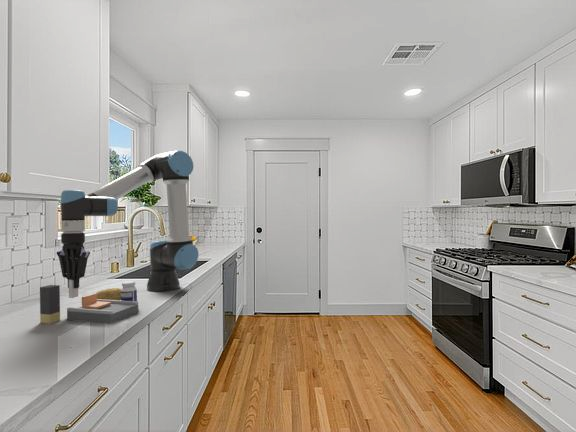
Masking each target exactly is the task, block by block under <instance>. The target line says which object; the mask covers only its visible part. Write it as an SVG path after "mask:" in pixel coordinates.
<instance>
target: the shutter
mask: <svg viewBox="0 0 576 432" xmlns="http://www.w3.org/2000/svg"><path fill="white" fill-rule="evenodd" d="M96 293H97V292H94V293H91V294H88V295H84V296H81V307H82V308H86V309H99V308H102V307H105V306H108V305H111V302H100V301H97V294H96Z"/></svg>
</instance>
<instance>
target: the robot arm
mask: <svg viewBox="0 0 576 432" xmlns="http://www.w3.org/2000/svg"><path fill="white" fill-rule="evenodd" d="M193 171H194V162H193V159H192V157H191V156H190V155H189V154H188V153H187V152H186V151H183V150H171V151H167V152H163V153H159V154H155V155H153V156H152V157H150V158H148V159H147V160H145V161H144V162H141V163H139V165H137V168H136V169H133V170H132V171H130V172H128V173H126V174H124V175H122V176H120V177H119V178H117V179H116V178H115V180H113V181H111V182H109V183H108V184H105V185H102V186H101V187H100V188H98V189H96V190H94V191H92V192H90V193H89V194H87V195H86V193H85V191H84V190H81V189H80V190H79V189H65V190H62V192H61V194H60V215H61V216H60V219H61V222H60V224H61V225H60V229H61V232H62V233H61V234H60V242H61V244H62V247H61V248H62V249H61V250H59V251H56V255H57V257H58V260H59V265H60V271H61V274H62V275H61V276H62V278H66V279H67V288H68V298H69V299H74V298H77V297H79V288H80V279H82V278H84V277H85V275H86V269H87V263H88V258H89V257H90V255H91V252H90V251H86V250H85V246H84V243H85V241H86V234H85V233H84V232H85V231H86V228H85V227H86V225H85V223H86V221H85V220H86V217H114V216H115V215H117V212H118V209H119V205H118V203H119V202H118V200H120V199H121V198H122V197H125V196H126V195H128V194H129V193H132V192H133V191H135V190H136V189H138V188H140V187H142V186H144V185H145V184H147V183H149V184H150V183H151V184H152V183H153V182H155V181H158V180H162V182H163V183H164V184H165V185H166V195H167V196H166V198H167V199H166V200H167V214H168V215H167V216H168V229H169V237H168V238H167V239H166V240H157V241H152V242H151V243H150V247H149V256H150V261H149V262H150V273H149V277H148V280H147V284H146V290H147V291H151V292H165V291H167V292H168V291H174V290H178V289H179V288H180V286H181V285H180V283H181V282H180V280H179V278H178V274H177V270H179V271H181V270H189V269H192V268H193V267H194V266H195V265H196V263H197V262H198V259H199V249H198V248H197V247H196V245H194V241H193V238H192V237H191V236H190V233H189V232H190V231H189V212H188V199H187V198H188V195H187V184H188V183H189V182H190V175H192V172H193Z"/></svg>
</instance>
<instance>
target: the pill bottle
mask: <svg viewBox="0 0 576 432" xmlns="http://www.w3.org/2000/svg"><path fill="white" fill-rule="evenodd" d="M121 287H122V288H120V289H121V301H137V302H138V292H137V291H138V289H137V287H136V281H134V280H129V281H123V282H122V283H121Z"/></svg>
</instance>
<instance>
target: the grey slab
mask: <svg viewBox="0 0 576 432" xmlns="http://www.w3.org/2000/svg"><path fill="white" fill-rule="evenodd" d="M97 301H100V302H111V305H108V306H105V307H102V308H99V309H86V308H82V306H79V307H66V318H67V319H66V320H67V321H76V322H77V321H79V322H90V323H91V322H92V323H101V324H102V323H103V324H113V323H116V322H117V321H120V320H123V319H126V318H128V317H130V316H133V315H135V314H138V313H139V301H138V300H137V301H121V300H105V299H97Z"/></svg>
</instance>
